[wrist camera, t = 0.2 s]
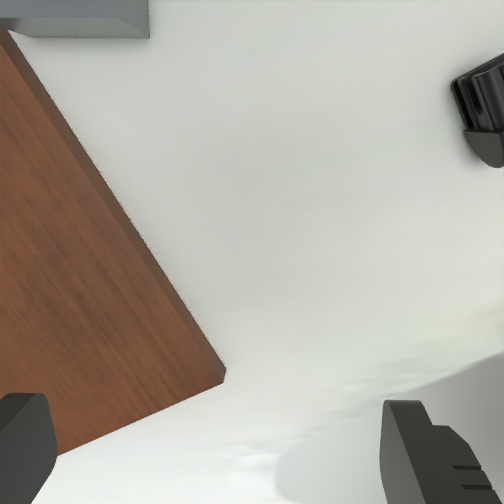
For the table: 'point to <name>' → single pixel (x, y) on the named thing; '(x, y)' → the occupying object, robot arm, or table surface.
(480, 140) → the end cap
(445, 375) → the table surface
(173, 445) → the table surface
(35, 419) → the robot arm
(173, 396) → the flat brown board
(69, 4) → the grey square socket block
